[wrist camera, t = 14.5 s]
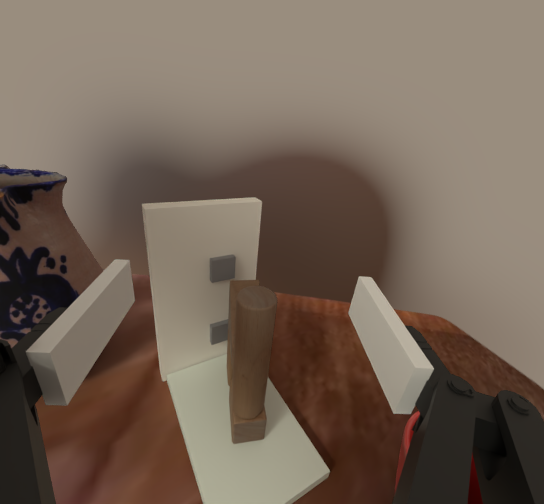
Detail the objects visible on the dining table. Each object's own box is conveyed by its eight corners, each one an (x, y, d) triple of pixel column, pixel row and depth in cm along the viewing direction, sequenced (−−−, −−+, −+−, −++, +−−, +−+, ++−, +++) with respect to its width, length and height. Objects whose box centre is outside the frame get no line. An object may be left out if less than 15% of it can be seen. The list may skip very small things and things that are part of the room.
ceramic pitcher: (-34, 458, 28) (-190, 219, 17) (-43, 340, 40) (-137, 160, 29) (143, 365, 40) (118, 189, 29) (93, 296, 52) (63, 156, 41)
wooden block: (251, 363, 40) (261, 250, 32) (264, 441, 31) (283, 308, 23) (225, 365, 39) (229, 250, 31) (231, 446, 30) (238, 310, 22)
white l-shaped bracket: (160, 371, 39) (141, 203, 28) (244, 342, 45) (255, 197, 35) (213, 560, 23) (215, 338, 13) (331, 474, 29) (397, 280, 19)
